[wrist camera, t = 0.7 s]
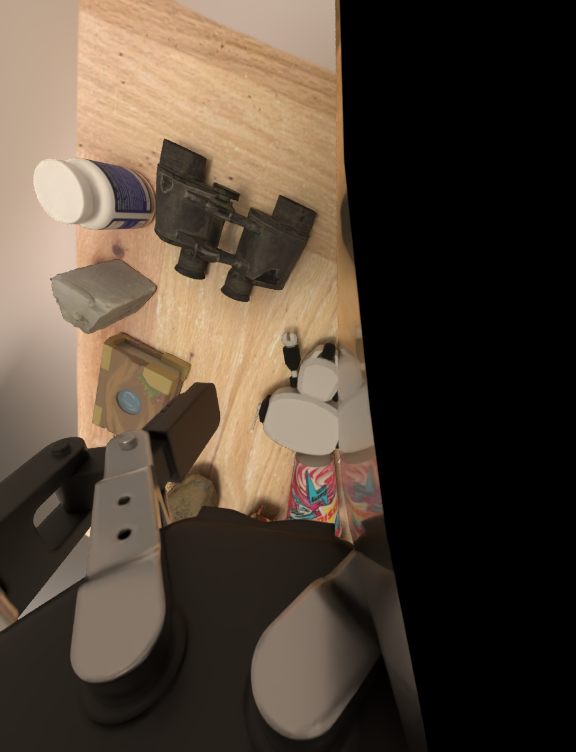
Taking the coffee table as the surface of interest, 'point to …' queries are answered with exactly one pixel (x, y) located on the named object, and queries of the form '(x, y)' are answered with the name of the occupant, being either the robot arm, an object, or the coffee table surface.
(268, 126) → the coffee table surface
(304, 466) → the cup
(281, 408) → the robot toy
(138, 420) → the book
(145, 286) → the mineral specimen
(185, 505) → the stone
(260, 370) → the coffee table surface
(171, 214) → the binoculars
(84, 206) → the pill bottle
